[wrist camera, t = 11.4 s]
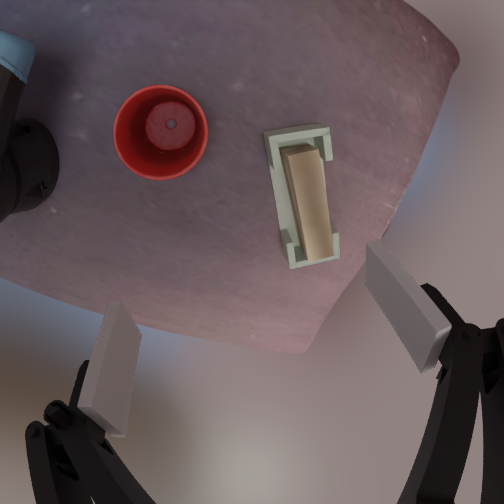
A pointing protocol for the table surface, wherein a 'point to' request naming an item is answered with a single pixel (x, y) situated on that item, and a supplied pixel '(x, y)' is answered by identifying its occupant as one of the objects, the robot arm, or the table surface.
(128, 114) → the flower pot
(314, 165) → the wooden block
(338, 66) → the table surface
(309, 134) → the green tray
